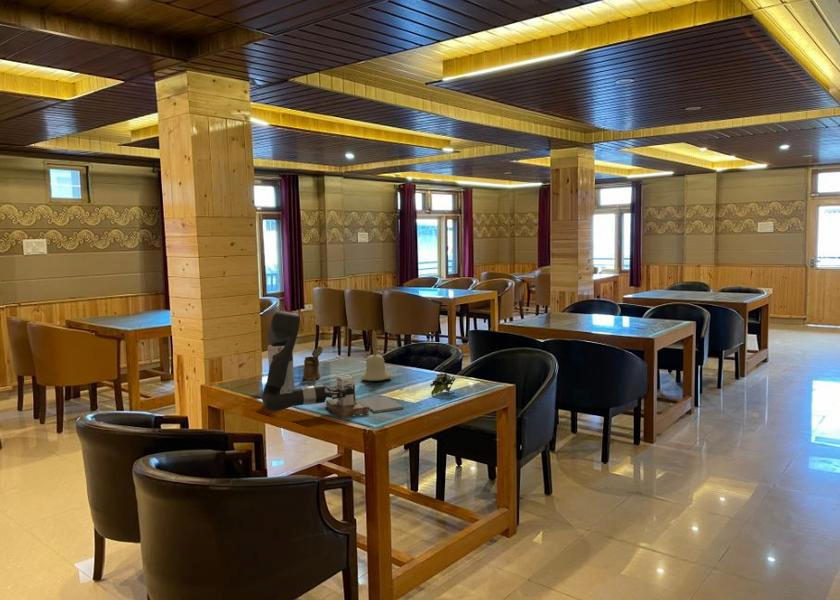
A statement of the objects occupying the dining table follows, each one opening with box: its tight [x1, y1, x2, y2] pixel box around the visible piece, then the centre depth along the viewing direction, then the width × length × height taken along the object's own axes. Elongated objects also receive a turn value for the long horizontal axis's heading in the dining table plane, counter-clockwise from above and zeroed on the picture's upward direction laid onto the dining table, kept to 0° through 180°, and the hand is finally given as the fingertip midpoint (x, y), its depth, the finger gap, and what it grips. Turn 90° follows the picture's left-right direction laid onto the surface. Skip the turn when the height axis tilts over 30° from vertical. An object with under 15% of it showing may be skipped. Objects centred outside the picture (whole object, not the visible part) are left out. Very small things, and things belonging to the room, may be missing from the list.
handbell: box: [360, 331, 392, 382], centre depth 323 cm, size 15×15×25 cm
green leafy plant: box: [430, 372, 456, 396], centre depth 290 cm, size 11×11×12 cm
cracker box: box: [267, 344, 284, 368], centre depth 322 cm, size 14×6×21 cm, turn 174°
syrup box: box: [336, 374, 356, 407], centre depth 267 cm, size 6×6×14 cm
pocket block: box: [325, 397, 369, 419], centre depth 268 cm, size 12×20×3 cm, turn 24°
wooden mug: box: [302, 346, 324, 381], centre depth 330 cm, size 9×14×18 cm, turn 43°
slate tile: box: [358, 396, 404, 413], centre depth 274 cm, size 13×20×1 cm, turn 24°
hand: (351, 389), depth 268 cm, fingers closed on syrup box, 6 cm apart
